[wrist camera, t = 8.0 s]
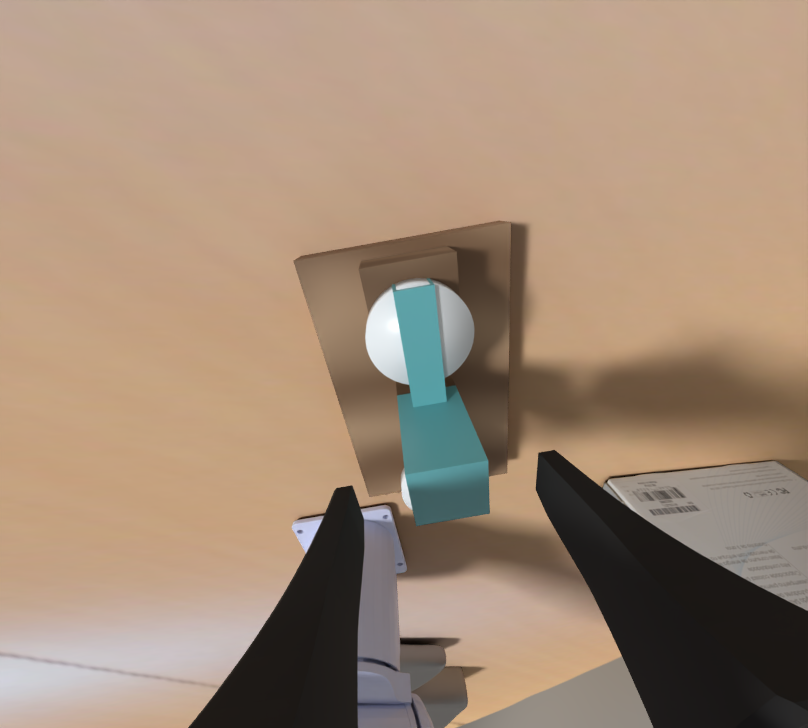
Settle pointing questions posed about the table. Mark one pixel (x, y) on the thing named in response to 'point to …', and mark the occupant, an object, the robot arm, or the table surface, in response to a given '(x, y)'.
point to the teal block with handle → (430, 398)
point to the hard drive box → (732, 519)
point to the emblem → (434, 682)
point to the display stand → (368, 387)
